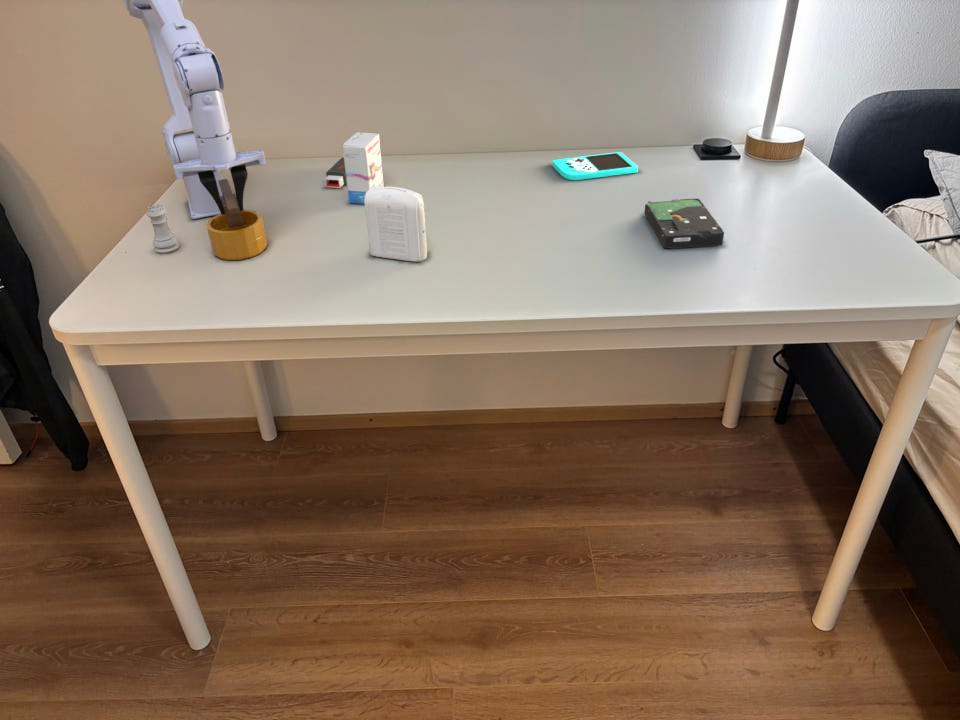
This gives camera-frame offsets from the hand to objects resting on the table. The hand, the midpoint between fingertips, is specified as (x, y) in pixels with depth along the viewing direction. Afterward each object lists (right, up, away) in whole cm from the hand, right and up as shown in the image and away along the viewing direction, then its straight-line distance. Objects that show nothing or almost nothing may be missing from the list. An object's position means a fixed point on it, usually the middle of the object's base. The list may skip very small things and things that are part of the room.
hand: (231, 210), depth 128 cm
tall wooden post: (0, -2, +1) cm, 2 cm away
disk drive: (+79, -3, +5) cm, 79 cm away
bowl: (0, -6, +4) cm, 7 cm away
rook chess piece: (-13, -6, +5) cm, 16 cm away
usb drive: (+14, +13, +31) cm, 36 cm away
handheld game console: (+68, +15, +30) cm, 76 cm away
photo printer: (+29, -8, 0) cm, 30 cm away
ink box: (+20, +7, +22) cm, 31 cm away
